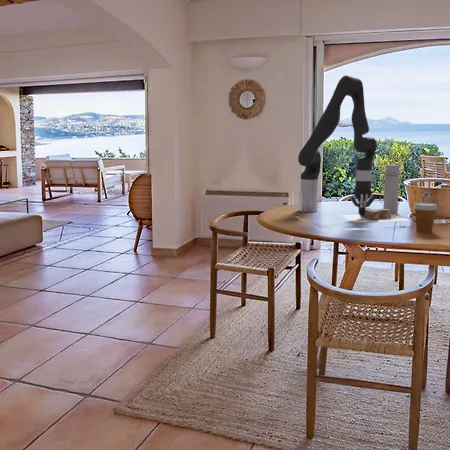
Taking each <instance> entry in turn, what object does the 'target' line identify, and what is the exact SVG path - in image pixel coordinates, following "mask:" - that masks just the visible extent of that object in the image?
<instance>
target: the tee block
mask: <svg viewBox="0 0 450 450" xmlns="http://www.w3.org/2000/svg"><path fill="white" fill-rule="evenodd" d="M391 214H392V213H391V210H389V209H383V208H370V207H366V208H365V214H364V216H361V217H364V218H366V219H368V220H379V219H384V218H391Z"/></svg>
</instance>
